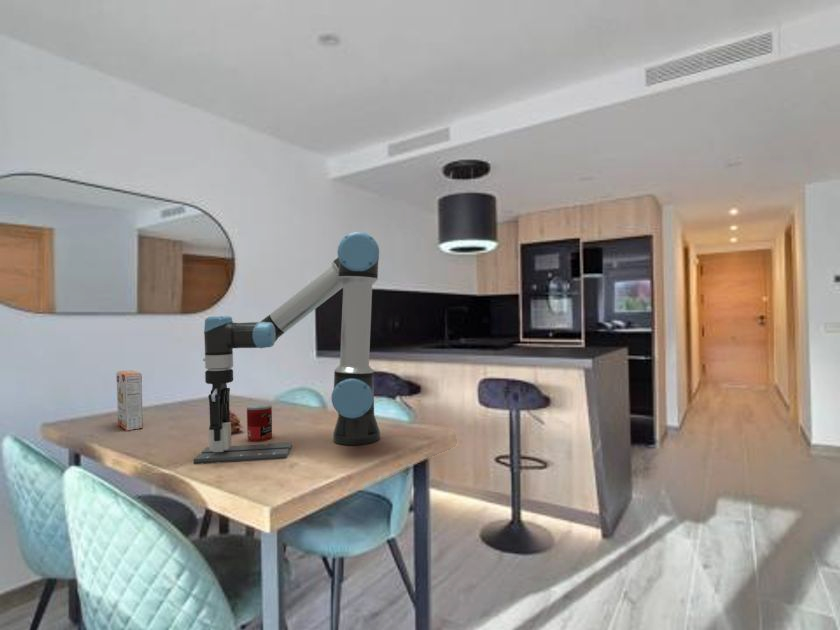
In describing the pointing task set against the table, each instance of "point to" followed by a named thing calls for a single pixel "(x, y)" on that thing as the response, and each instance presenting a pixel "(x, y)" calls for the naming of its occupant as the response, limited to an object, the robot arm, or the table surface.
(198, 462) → the fader panel
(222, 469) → the table surface
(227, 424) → the fader
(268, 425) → the canned food
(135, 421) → the cracker box
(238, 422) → the flower
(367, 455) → the table surface
